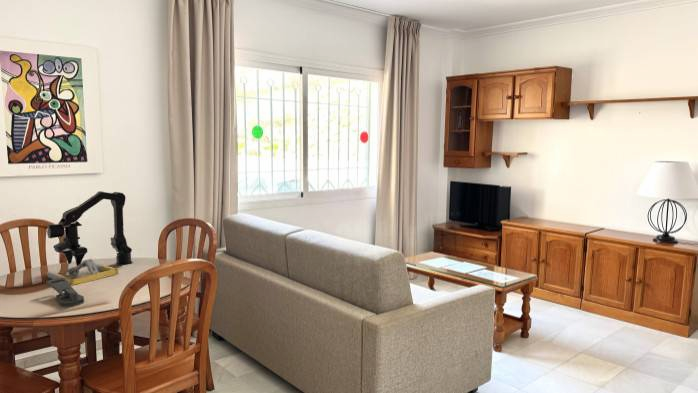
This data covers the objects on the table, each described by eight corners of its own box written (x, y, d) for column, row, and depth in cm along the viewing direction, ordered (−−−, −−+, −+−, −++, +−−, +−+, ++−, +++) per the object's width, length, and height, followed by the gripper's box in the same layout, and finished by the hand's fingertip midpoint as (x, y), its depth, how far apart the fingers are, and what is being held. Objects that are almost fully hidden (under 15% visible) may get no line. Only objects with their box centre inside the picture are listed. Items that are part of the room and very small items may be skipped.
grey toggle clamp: (65, 276, 222) (85, 287, 205) (67, 290, 223) (87, 303, 206) (43, 280, 215) (62, 292, 198) (44, 295, 216) (63, 308, 199)
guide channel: (93, 266, 263) (93, 262, 263) (118, 274, 249) (118, 269, 249) (47, 276, 245) (47, 272, 244) (71, 285, 230) (71, 280, 230)
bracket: (83, 281, 237) (74, 263, 237) (65, 293, 242) (55, 275, 242) (100, 275, 247) (91, 258, 247) (82, 287, 251) (73, 269, 252)
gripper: (46, 236, 249) (48, 265, 251) (63, 240, 238) (66, 271, 240) (69, 232, 258) (71, 261, 259) (86, 236, 247) (89, 266, 249)
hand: (73, 265), depth 252 cm, fingers open, 9 cm apart
